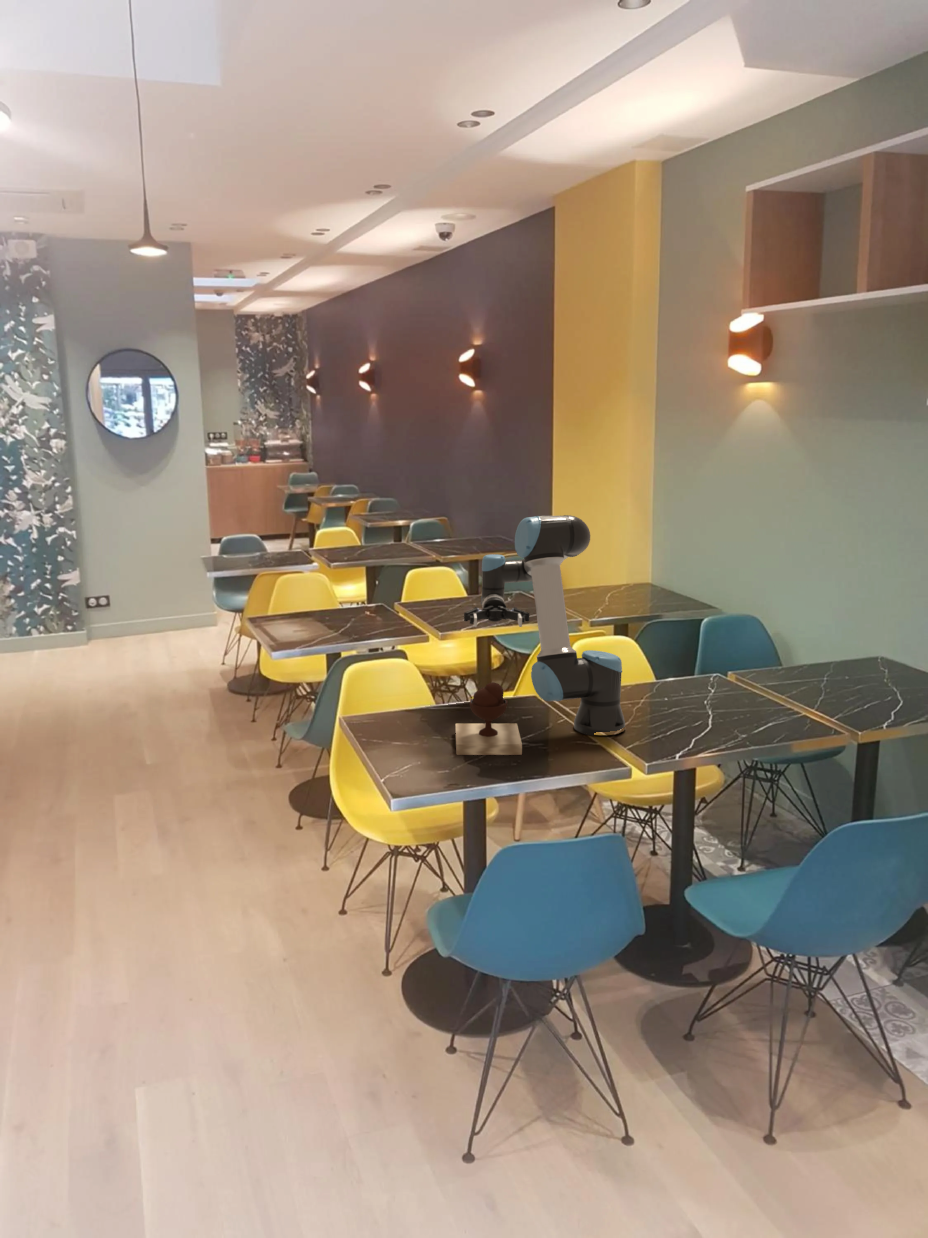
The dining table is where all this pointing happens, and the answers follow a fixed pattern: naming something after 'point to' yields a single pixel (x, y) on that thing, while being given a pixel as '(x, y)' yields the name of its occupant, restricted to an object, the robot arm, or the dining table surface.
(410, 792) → the dining table surface
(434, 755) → the dining table surface
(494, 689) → the ice cream bowl
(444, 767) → the dining table surface
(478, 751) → the maple stand board
